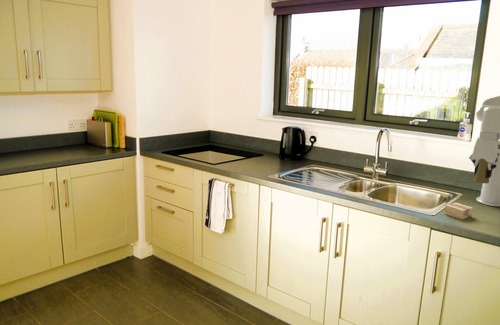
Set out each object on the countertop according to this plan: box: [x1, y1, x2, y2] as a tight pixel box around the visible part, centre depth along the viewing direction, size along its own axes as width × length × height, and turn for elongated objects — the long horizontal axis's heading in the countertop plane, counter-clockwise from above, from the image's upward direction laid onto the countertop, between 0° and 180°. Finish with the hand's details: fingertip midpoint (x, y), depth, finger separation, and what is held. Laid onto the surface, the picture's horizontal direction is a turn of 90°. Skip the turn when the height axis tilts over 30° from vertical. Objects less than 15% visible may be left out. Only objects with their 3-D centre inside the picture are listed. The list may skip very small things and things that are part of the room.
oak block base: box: [443, 202, 474, 220], centre depth 186 cm, size 8×8×4 cm
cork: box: [473, 158, 489, 184], centre depth 186 cm, size 6×6×11 cm
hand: (482, 176), depth 187 cm, fingers closed on cork, 4 cm apart
